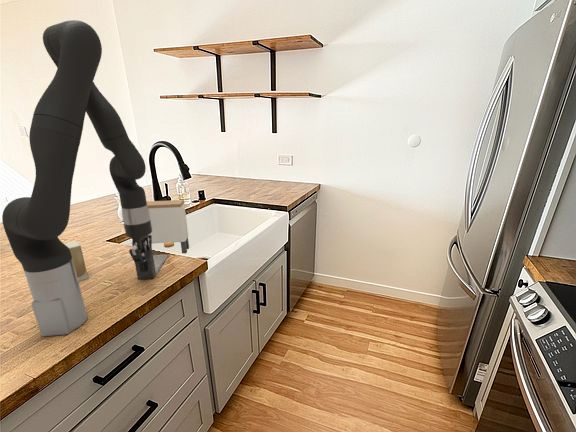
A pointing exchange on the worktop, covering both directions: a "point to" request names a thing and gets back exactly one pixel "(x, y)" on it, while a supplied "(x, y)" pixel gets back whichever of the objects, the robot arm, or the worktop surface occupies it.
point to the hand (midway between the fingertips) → (145, 269)
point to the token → (168, 245)
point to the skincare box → (77, 259)
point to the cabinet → (169, 222)
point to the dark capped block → (151, 265)
